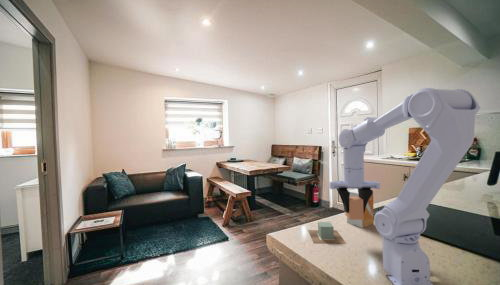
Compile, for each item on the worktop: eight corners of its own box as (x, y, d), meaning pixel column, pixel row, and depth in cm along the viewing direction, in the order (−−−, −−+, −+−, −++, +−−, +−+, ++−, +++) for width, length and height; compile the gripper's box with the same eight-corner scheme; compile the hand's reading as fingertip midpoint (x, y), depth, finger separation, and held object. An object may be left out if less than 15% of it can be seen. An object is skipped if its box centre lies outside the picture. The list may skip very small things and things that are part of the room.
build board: (346, 246, 66) (346, 243, 66) (313, 246, 66) (313, 243, 66) (336, 232, 76) (336, 230, 76) (307, 232, 76) (307, 229, 76)
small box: (362, 230, 77) (362, 194, 77) (346, 224, 82) (345, 191, 82) (374, 225, 81) (373, 190, 81) (358, 220, 86) (357, 188, 86)
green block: (333, 239, 69) (333, 226, 69) (321, 239, 69) (320, 226, 69) (330, 233, 73) (329, 222, 73) (318, 233, 73) (317, 222, 73)
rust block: (363, 219, 65) (363, 199, 65) (349, 219, 65) (349, 199, 65) (358, 215, 69) (357, 196, 69) (345, 215, 69) (344, 196, 69)
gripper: (371, 166, 70) (372, 207, 70) (326, 166, 71) (326, 207, 71) (383, 169, 63) (384, 215, 63) (332, 169, 64) (333, 215, 64)
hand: (354, 211), depth 66 cm, fingers closed on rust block, 4 cm apart
